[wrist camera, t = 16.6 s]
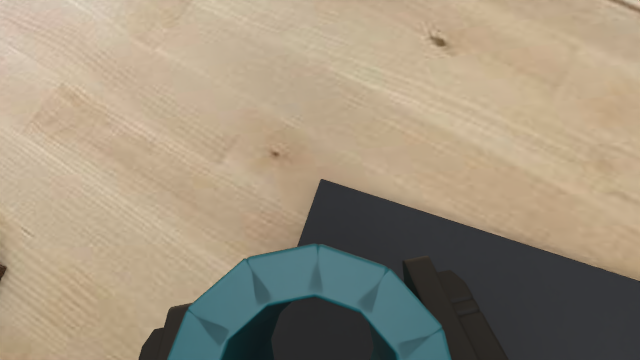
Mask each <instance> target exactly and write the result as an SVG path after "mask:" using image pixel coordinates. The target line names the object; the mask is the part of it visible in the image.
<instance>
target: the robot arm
mask: <svg viewBox="0 0 640 360" xmlns="http://www.w3.org/2000/svg"><path fill="white" fill-rule="evenodd" d="M402 264H403V276H404V284H405V285H406V286H407V287H408V288H409V289H410V290H411V291H412V293H413V294H414V295H415V296H416V297H417V298H418V299H419V300H420V301H421V303H422V304H423V305H424V306H425V307H426V308H427V309H428V310H429V311H430V313H431V314H432V315H433V316H434V317H435V318H436V319H437V320H438V321H439V323H440V324H441V325H442V329H443V330H444V332H445V336H446V340H447V343H448V347H449V351H450V355H451V359H452V360H509V359H508V357H507V355H506V354H505V352H504V350H503V348H502V346H501V345H500V343H499V341H498V339H497V338H496V336H495V334H494V332H493V330H492V329H491V327H490V325H489V323H488V322H487V320H486V318H485V316H484V315H483V313H482V312H481V311H480V307H479V306H478V304H477V302H476V300H475V299H474V298H473V295H472V293H471V291H470V290H469V288H468V286H467V284H466V283H465V281H464V280H463V279H461V278H460V277H459V276H458V275H456V274H455V273H454V272H453V271H451V270H447V271H442V272H437V271H436V269H435V267H434V265H433V263H432V261H431V259H430V258H429V256H423V257H418V258H413V259H408V260H403V262H402ZM191 304H192V303H189V304H184V305H179V306H174V307H171V308H170V309H169V311H168V314H167V318H166V322H165V325H164V328H159V329H154V331H153V332H152V333H151V335H150V336H149V338H148V339H147V341H146V342H145V343H144V345H143V346H142V350H141V353H140V356H139V360H167V358H168V356H169V353H170V351H171V348H172V346H173V343H174V341H175V338H176V335H177V333H178V330H179V328H180V325H181V323H182V320H183V318H184V315H185V313H186V311H187V310H188V307H189V306H190V305H191Z"/></svg>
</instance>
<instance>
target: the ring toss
mask: <svg viewBox="0 0 640 360" xmlns="http://www.w3.org/2000/svg"><path fill="white" fill-rule="evenodd" d="M5 269H6V267H4V266H2V265H0V279H1V277H2V275H3V273H4V271H5Z"/></svg>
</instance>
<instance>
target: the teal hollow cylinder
mask: <svg viewBox="0 0 640 360" xmlns="http://www.w3.org/2000/svg"><path fill="white" fill-rule="evenodd" d="M312 297H316V298H319V299H322V300H325V301H328V302H330V303H333V304H336V305H339V306H342V307H344V308H347V309H350V310H353V311H356V312H358V313H361V314H362V315H363V317H364V318H365V319H366V320H367V321H368V323H369V327H370V331H371V336H372V341H373V345H374V348H373V352H372V355H371V358H370V360H452V359H451V355H450V351H449V347H448V343H447V340H446V336H445V332H444V330H443V329H442V325H441V324H440V323H439V321H438V320H437V319H436V318H435V317H434V316H433V315H432V314H431V313H430V311H429V310H428V309H427V308H426V307H425V306H424V305H423V304H422V303H421V301H420V300H419V299H418V298H417V297H416V296H415V295H414V294H413V293H412V291H411V290H410V289H409V288H408V287H407V286H406V285H405V284H404V283H403V281H402V280H401V279H400V278H399V277H398V276H397V275H396V274H395V273H394V271H393V270H392V269H390V268H389V269H388V268H387V267H386V266H385V265H382V264H379V263H376V262H373V261H370V260H367V259H364V258H361V257H358V256H355V255H352V254H350V253H347V252H344V251H341V250H338V249H335V248H332V247H329V246H326V245H323V244H319V245H318V244H310V245H305V246H300V247H295V248H290V249H285V250H280V251H275V252H270V253H265V254H260V255H255V256H250V257H248V258H247V259H243V260H242V261H241V262H240V263H238V264H237V265H236V266H235V267H234V268H233V269H232V270H230V271H229V272H228V273H227V274H226V275H225V276H223V277H222V278H221V279H220V280H219V281H218V282H217V283H215V284H214V285H213V286H212V287H211V288H210V289H208V290H207V291H206V292H205V293H204V294H203V295H201V296H200V297H199V298H198V299H197V300H196V301H195V302H193V303H192V304H191V305H190V306H189V307H188V310H187V311H186V313H185V315H184V318H183V320H182V323H181V325H180V328H179V330H178V333H177V335H176V338H175V341H174V343H173V346H172V348H171V351H170V353H169V356H168V358H167V360H274V354H273V348H272V341H271V338H272V335H273V332H274V329H275V327H276V324H277V321H278V318H279V315H280V313H281V312H282V311H283V310H284V309H285V308H286V307H287V306H288V305H290V304H291V303H292V302H293V301H297V300H302V299H307V298H312Z"/></svg>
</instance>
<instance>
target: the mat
mask: <svg viewBox="0 0 640 360" xmlns="http://www.w3.org/2000/svg"><path fill="white" fill-rule="evenodd" d="M310 244H318V245H319V244H323V245H326V246H329V247H332V248H335V249H338V250H341V251H344V252H347V253H350V254H352V255H355V256H358V257H361V258H364V259H367V260H370V261H373V262H376V263H379V264H382V265H385V266H386V267H387V268H388V269H389V268H390V269H392V270H393V271H394V273H395V274H396V275H397V276H398V277H399V278H400V279H401V280H402V281H403V283H404V276H403V264H402V262H403V260H408V259H413V258H418V257H423V256H429V258H430V259H431V261H432V263H433V265H434V267H435V269H436V271H437V272H442V271H447V270H451V271H453V272H454V273H455V274H456V275H458V276H459V277H460V278H461V279H463V280H464V281H465V283H466V284H467V286H468V288H469V290H470V291H471V293H472V295H473V298H474V299H475V300H476V302H477V304H478V306H479V307H480V311H481V312H482V313H483V315H484V316H485V318H486V320H487V322H488V323H489V325H490V327H491V329H492V330H493V332H494V334H495V336H496V338H497V339H498V341H499V343H500V345H501V346H502V348H503V350H504V352H505V354H506V355H507V357H508V359H509V360H640V281H637V280H634V279H631V278H628V277H625V276H622V275H619V274H616V273H613V272H609V271H606V270H603V269H600V268H597V267H594V266H591V265H588V264H585V263H581V262H578V261H575V260H572V259H569V258H566V257H563V256H560V255H557V254H553V253H550V252H547V251H544V250H541V249H538V248H535V247H532V246H529V245H526V244H522V243H519V242H516V241H513V240H510V239H507V238H504V237H501V236H498V235H494V234H491V233H488V232H485V231H482V230H479V229H476V228H473V227H470V226H466V225H463V224H460V223H457V222H454V221H451V220H448V219H445V218H442V217H438V216H435V215H432V214H429V213H426V212H423V211H420V210H417V209H414V208H410V207H407V206H404V205H401V204H398V203H395V202H392V201H389V200H386V199H382V198H379V197H376V196H373V195H370V194H367V193H364V192H361V191H358V190H354V189H351V188H348V187H345V186H342V185H339V184H336V183H333V182H330V181H326V180H323V179H321V180H320V183H319V186H318V189H317V192H316V195H315V197H314V200H313V203H312V206H311V209H310V212H309V215H308V218H307V220H306V223H305V226H304V229H303V232H302V235H301V238H300V241H299V243H298V246H297V247H300V246H305V245H310ZM271 341H272V348H273V354H274V360H370V358H371V355H372V352H373V348H374V345H373V341H372V336H371V331H370V327H369V323H368V321H367V320H366V319H365V318H364V317H363V315H362V314H361V313H358V312H356V311H353V310H350V309H347V308H344V307H342V306H339V305H336V304H333V303H330V302H328V301H325V300H322V299H319V298H316V297H312V298H307V299H302V300H297V301H293V302H292V303H291V304H290V305H288V306H287V307H286V308H285V309H284V310H283V311H282V312H281V313H280V315H279V318H278V321H277V324H276V327H275V329H274V332H273V335H272V338H271Z"/></svg>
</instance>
